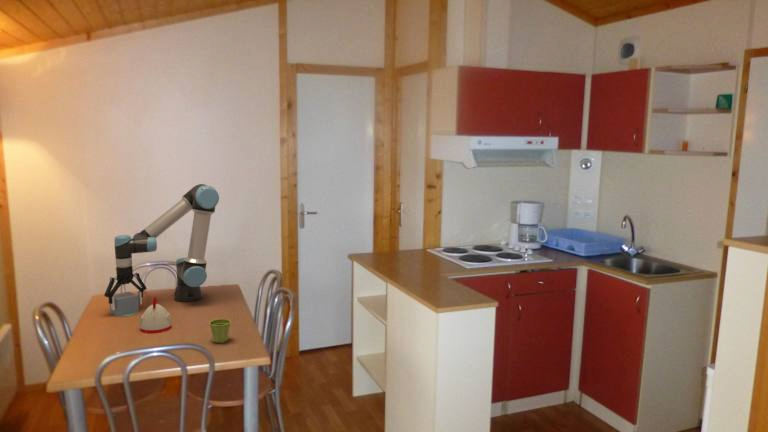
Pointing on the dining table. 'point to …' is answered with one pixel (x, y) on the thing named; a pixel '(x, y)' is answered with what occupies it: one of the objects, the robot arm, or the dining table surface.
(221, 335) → the plant pot
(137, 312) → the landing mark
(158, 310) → the white and red dome
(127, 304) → the grey-blue rounded block
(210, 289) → the dining table surface
